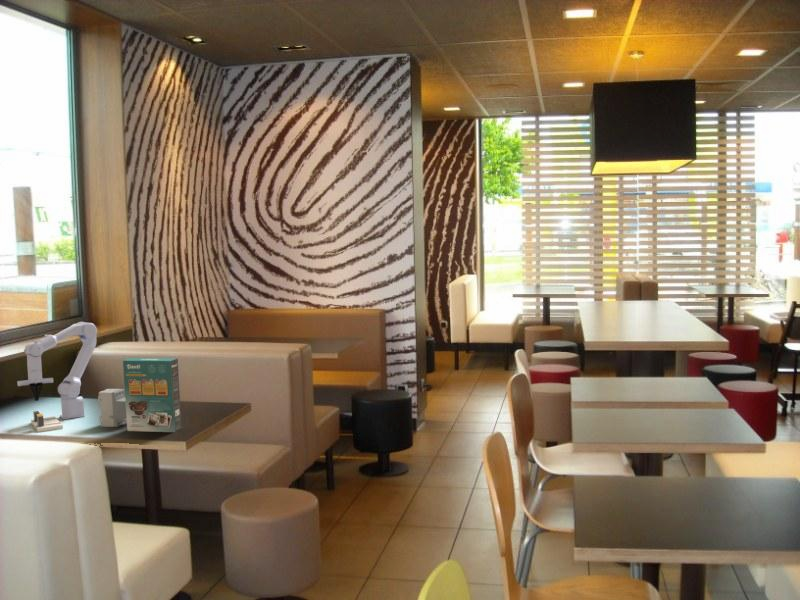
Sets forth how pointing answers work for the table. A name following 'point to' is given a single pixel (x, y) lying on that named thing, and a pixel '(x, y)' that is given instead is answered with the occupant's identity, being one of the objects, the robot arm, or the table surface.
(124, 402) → the circuit breaker
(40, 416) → the breaker handle
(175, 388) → the cake mix box
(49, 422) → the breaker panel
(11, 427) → the table surface
